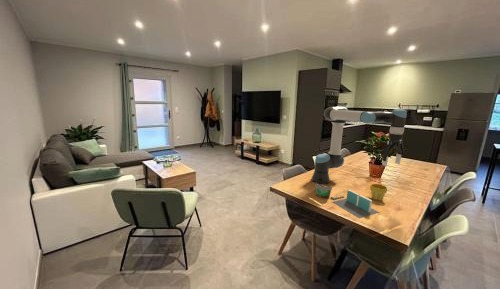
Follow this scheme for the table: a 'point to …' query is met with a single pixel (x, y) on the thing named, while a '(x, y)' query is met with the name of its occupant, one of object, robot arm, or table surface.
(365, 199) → the tile
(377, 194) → the plant pot
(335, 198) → the turner
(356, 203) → the tile
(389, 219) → the table surface
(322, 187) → the food container
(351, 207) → the mat
